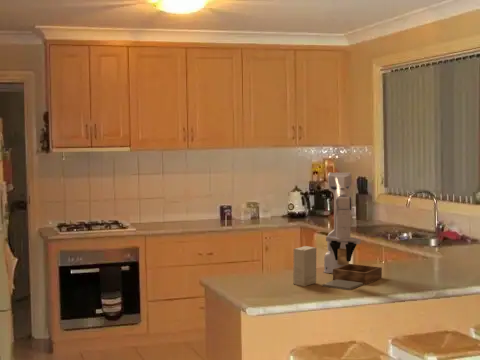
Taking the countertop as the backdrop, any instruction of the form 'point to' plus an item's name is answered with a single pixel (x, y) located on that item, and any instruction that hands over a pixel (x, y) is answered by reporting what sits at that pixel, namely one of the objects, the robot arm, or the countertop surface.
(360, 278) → the walnut crate
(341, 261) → the maple spool
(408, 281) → the countertop surface
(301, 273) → the skincare box
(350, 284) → the slate tile
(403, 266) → the countertop surface
